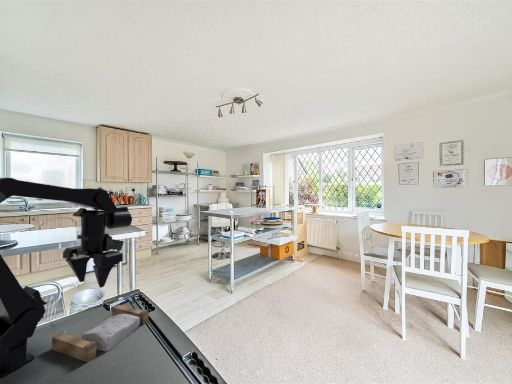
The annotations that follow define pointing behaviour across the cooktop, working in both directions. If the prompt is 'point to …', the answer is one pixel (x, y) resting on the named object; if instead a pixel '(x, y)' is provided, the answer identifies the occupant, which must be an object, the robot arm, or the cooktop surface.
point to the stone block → (112, 331)
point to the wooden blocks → (88, 349)
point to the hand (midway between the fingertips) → (91, 284)
